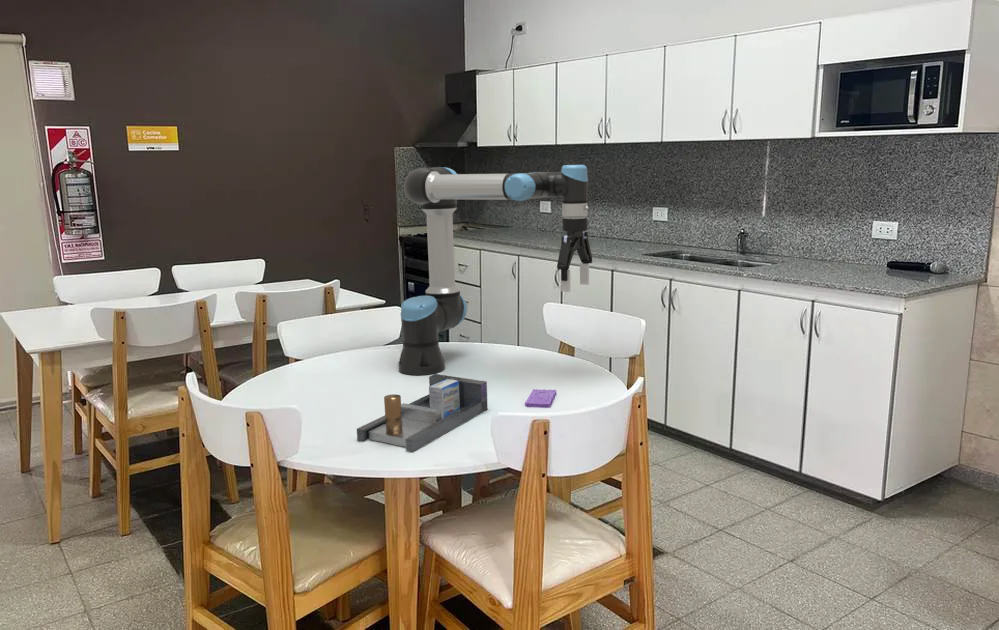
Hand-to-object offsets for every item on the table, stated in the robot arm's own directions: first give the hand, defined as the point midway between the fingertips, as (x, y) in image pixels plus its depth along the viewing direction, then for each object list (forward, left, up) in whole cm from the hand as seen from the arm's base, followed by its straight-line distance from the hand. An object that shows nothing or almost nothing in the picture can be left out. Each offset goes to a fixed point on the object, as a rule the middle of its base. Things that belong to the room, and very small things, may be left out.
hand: (575, 288), depth 229 cm
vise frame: (-17, -56, -28) cm, 65 cm away
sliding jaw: (-17, -64, -28) cm, 72 cm away
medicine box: (-17, -47, -28) cm, 57 cm away
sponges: (+1, -25, -29) cm, 38 cm away
